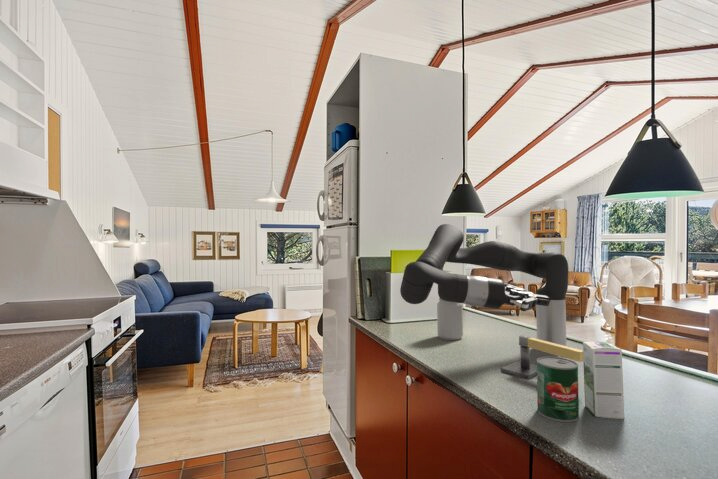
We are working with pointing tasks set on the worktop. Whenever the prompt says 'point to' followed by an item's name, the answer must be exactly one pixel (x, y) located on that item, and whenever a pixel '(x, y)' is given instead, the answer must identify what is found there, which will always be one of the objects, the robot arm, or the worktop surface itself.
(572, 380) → the canned tomato
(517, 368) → the post
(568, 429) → the worktop surface
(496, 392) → the worktop surface
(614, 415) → the syrup box
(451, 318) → the jar
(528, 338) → the bar
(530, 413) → the worktop surface
